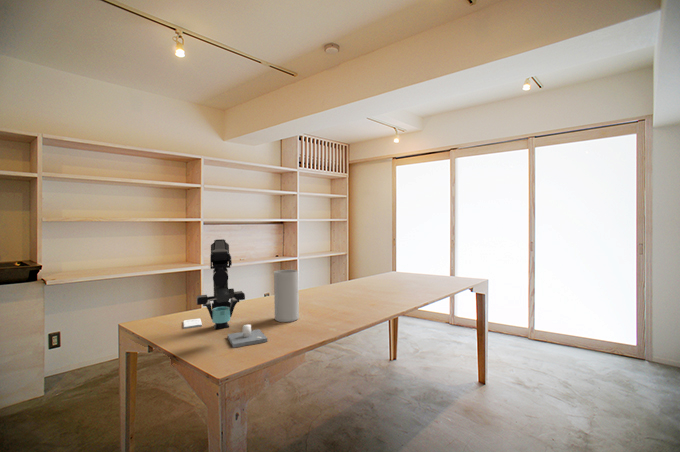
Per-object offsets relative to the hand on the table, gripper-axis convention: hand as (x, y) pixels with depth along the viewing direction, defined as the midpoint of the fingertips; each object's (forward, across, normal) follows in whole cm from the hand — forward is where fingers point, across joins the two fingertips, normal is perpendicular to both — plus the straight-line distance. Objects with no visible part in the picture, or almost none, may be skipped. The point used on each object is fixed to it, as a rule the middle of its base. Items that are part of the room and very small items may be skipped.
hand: (221, 318), depth 140 cm
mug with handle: (+1, 0, 0) cm, 1 cm away
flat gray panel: (+11, +10, -1) cm, 15 cm away
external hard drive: (+12, -10, +36) cm, 39 cm away
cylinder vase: (+11, +35, +21) cm, 42 cm away
